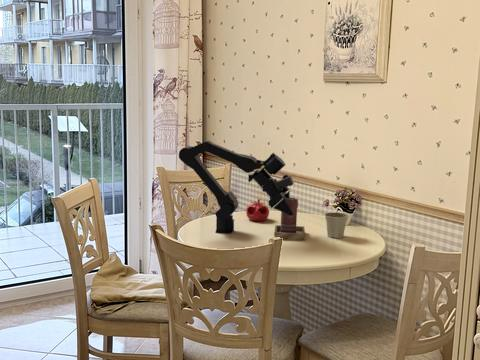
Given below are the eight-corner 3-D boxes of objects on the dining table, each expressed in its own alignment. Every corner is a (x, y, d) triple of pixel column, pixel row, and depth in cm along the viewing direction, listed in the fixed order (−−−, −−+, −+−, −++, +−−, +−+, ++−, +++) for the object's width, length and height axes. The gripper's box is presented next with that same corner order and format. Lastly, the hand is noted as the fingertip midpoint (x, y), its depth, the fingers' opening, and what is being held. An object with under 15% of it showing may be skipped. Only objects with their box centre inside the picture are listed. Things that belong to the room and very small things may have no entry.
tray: (274, 239, 217) (274, 232, 216) (275, 231, 228) (275, 225, 228) (304, 240, 216) (304, 234, 215) (304, 232, 227) (304, 226, 227)
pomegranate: (247, 217, 252) (247, 196, 251) (270, 217, 251) (270, 197, 249) (244, 222, 242) (244, 200, 241) (268, 222, 241) (268, 201, 240)
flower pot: (332, 231, 229) (333, 211, 227) (352, 236, 222) (353, 215, 221) (318, 235, 222) (319, 214, 221) (338, 241, 216) (339, 218, 214)
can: (298, 235, 219) (300, 199, 217) (282, 235, 218) (284, 200, 216) (294, 231, 225) (295, 196, 223) (278, 231, 224) (280, 197, 222)
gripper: (278, 172, 209) (306, 203, 209) (284, 165, 227) (311, 194, 227) (256, 192, 212) (284, 222, 212) (264, 183, 230) (291, 212, 230)
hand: (293, 212), depth 220 cm, fingers open, 9 cm apart
